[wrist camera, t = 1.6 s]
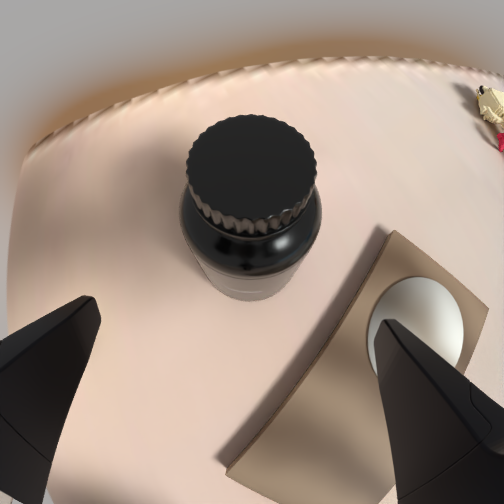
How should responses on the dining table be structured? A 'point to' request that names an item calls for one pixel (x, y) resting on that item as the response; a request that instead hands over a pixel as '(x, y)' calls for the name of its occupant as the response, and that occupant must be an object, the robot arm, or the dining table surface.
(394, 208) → the dining table surface
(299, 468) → the walnut board
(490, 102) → the cat figure
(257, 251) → the supplement bottle
